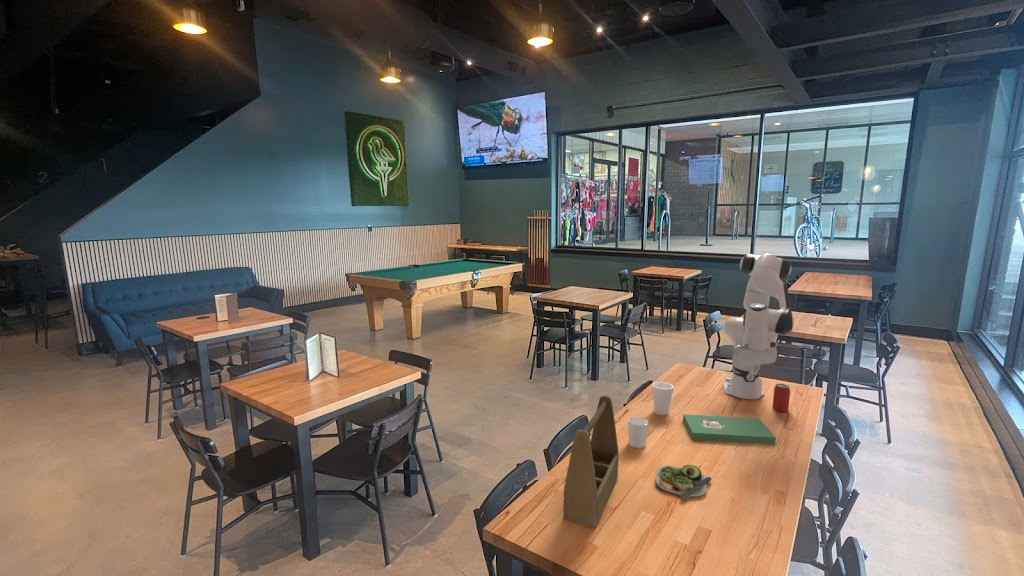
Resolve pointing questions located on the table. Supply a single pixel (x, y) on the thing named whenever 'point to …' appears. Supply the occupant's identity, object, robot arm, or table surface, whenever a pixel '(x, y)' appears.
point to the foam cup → (662, 397)
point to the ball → (713, 424)
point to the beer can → (781, 398)
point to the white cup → (637, 431)
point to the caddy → (592, 468)
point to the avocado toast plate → (683, 480)
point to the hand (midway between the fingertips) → (753, 374)
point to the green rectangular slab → (728, 429)
